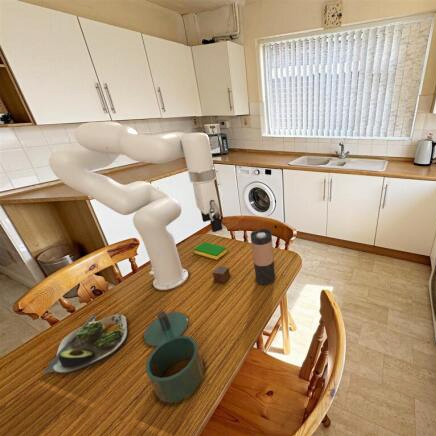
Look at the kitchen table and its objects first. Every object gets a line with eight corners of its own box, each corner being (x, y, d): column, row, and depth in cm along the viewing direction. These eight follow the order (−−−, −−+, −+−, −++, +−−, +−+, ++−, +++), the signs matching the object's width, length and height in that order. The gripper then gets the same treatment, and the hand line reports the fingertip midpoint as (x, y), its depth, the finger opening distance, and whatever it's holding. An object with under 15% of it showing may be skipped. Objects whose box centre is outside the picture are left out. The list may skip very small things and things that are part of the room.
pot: (145, 395, 56) (134, 372, 52) (177, 353, 65) (170, 331, 62) (184, 410, 53) (175, 387, 49) (212, 363, 62) (206, 341, 59)
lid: (135, 342, 69) (127, 326, 66) (166, 311, 79) (160, 296, 76) (169, 352, 66) (162, 336, 63) (196, 318, 76) (192, 303, 73)
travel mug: (272, 286, 89) (268, 239, 80) (252, 283, 90) (246, 238, 82) (277, 273, 96) (274, 229, 87) (259, 271, 97) (254, 228, 89)
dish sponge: (217, 260, 105) (216, 255, 104) (194, 253, 111) (193, 248, 110) (227, 251, 111) (226, 247, 110) (205, 245, 117) (204, 241, 116)
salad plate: (62, 331, 73) (55, 320, 71) (129, 307, 81) (125, 297, 79) (43, 388, 58) (33, 376, 56) (128, 352, 66) (122, 340, 64)
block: (214, 281, 92) (212, 272, 90) (220, 274, 96) (218, 265, 94) (224, 283, 91) (222, 274, 89) (230, 276, 95) (228, 267, 93)
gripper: (182, 172, 77) (194, 220, 84) (198, 184, 64) (209, 239, 72) (205, 168, 81) (214, 214, 88) (224, 178, 68) (233, 231, 75)
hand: (212, 225), depth 80 cm, fingers open, 9 cm apart
